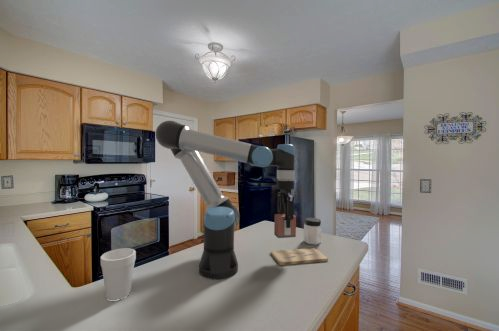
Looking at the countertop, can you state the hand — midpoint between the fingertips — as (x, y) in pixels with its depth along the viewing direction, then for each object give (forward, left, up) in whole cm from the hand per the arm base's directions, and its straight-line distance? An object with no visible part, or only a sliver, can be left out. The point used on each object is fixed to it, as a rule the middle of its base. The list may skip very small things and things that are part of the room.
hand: (284, 232), depth 100 cm
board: (+7, 0, -11) cm, 13 cm away
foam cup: (-61, -16, -12) cm, 64 cm away
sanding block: (0, 0, -1) cm, 1 cm away
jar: (+23, +17, -12) cm, 31 cm away
